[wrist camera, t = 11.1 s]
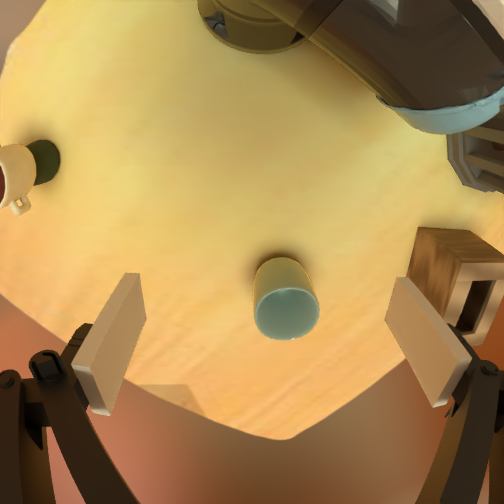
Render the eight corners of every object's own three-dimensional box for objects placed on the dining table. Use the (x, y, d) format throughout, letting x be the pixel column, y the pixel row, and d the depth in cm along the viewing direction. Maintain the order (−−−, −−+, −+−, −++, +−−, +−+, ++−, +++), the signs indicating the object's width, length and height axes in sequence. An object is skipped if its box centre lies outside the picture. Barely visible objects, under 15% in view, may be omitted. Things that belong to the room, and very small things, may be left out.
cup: (304, 245, 44) (320, 282, 35) (307, 293, 47) (320, 336, 38) (248, 252, 44) (249, 291, 35) (254, 300, 47) (257, 344, 38)
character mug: (15, 145, 36) (-43, 163, 24) (44, 116, 35) (-16, 125, 23) (47, 203, 40) (-6, 237, 28) (78, 178, 39) (25, 206, 27)
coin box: (418, 226, 43) (461, 262, 32) (470, 230, 43) (515, 263, 32) (397, 306, 49) (428, 353, 38) (448, 303, 49) (482, 344, 38)
